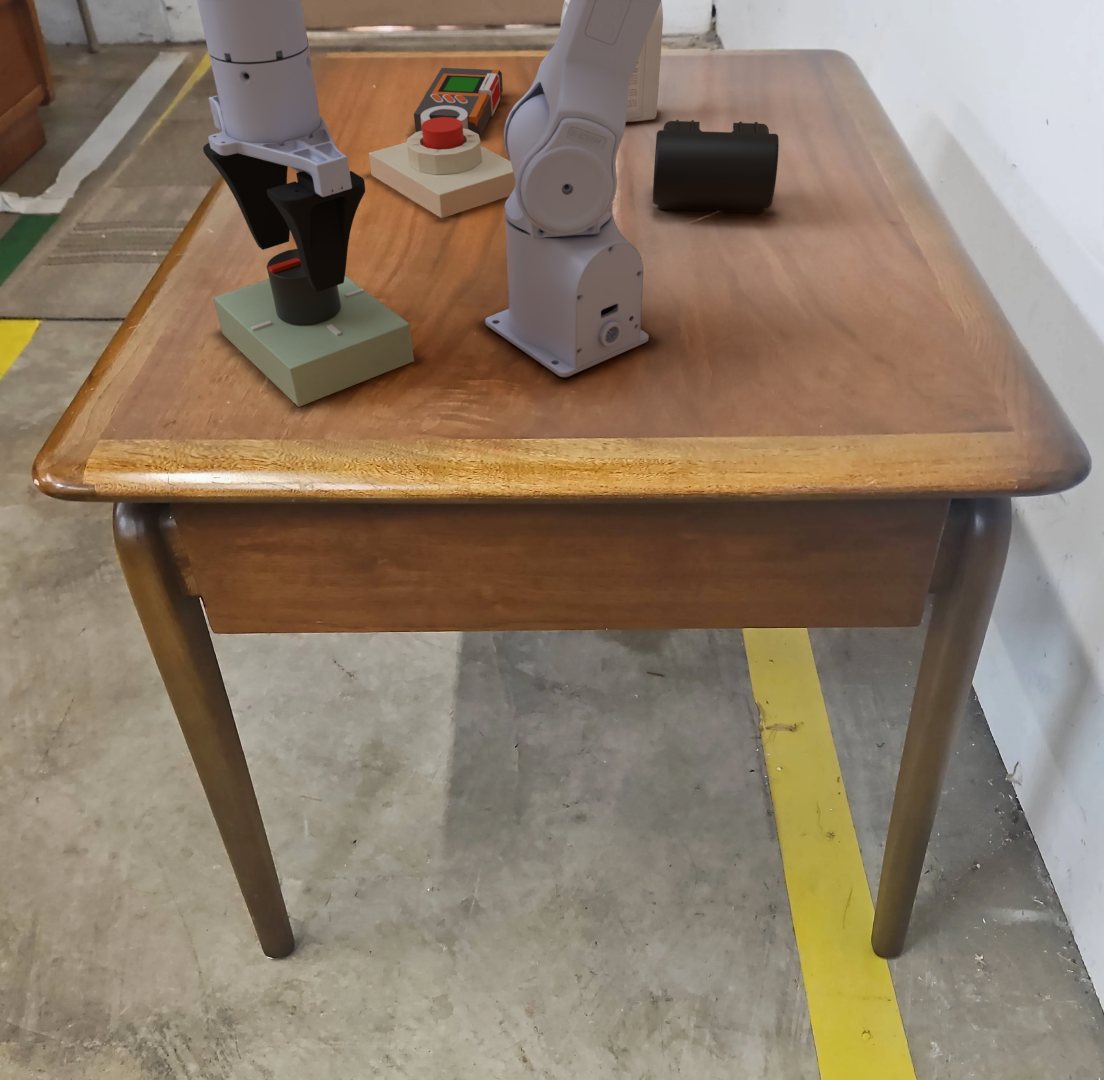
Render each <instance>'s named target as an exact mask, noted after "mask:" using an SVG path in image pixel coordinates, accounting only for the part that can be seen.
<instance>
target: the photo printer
mask: <svg viewBox="0 0 1104 1080" xmlns="http://www.w3.org/2000/svg"><path fill="white" fill-rule="evenodd" d="M569 2H570V0H564V1H563V4H562V9H561V15H560V16H561V17H560V27H561V26H562V23H563V20H564V17H565V14H566V11H567V8H568V5H569ZM663 25H664V9H663V1H662V0H661V2H660V5H659V7H658V10H657V12H656V15H655V18H654V20H653V23H652V25H651V28H650V30H649V33H648V36H647V38H646V41H645V43H644V46H643V48H642V51H641V54H640V56H639V59H638V61H637V64H636V66H635V69H634V72H633V74H632V77H631V79H630V82H629V88H628V98H627V111H626V123H629V122H632V123H633V122H641V121H642V122H643V121H650V120H651V121H652V120H655V119H656V118H657V113H658V101H659V100H658V99H659V87H660V86H659V85H660V69H661V59H662V58H661V56H662V40H663Z"/></svg>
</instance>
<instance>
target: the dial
mask: <svg viewBox="0 0 1104 1080" xmlns="http://www.w3.org/2000/svg"><path fill="white" fill-rule="evenodd" d="M266 270H267V274H268V279H269V280H270V284H271V289H272V294H273V298H274V303H275V308H276V312H277V316H278V317H279V318H280V319H281V320H282V321H284V322H286V323H289V324H294V325H313V324H318V323H321V322H324V321H327V320H329V319H331V318H333V317H334V316H335V315H337V313H338V312H339V311H340V308H341V303H340V297H339V291H338V285H336V286H334V287H331V288H328V289H325V290H322V291H319V292H317V291H315V290H314V289H313V288H312V287H311V285H310V283H309V281H308V279H307V277H306V274H305V271H304V268H303V265H302V262H301V259H300V256H299V252H298V249H297V248H292V249H289V250H288V249H287V250H285V251H283V252H280V253H278V254H276V255H274V256H273V257H271V258H270V259H269V260H268V262H267V263H266Z"/></svg>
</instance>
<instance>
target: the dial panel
mask: <svg viewBox="0 0 1104 1080" xmlns="http://www.w3.org/2000/svg"><path fill="white" fill-rule="evenodd" d="M338 291H339V297H340V303H341V308H340V311H339V312H338V313H337V315H335V316H334V317H333V318H331V319H329V320H327V321H324V322H321V323H318V324H313V325H294V324H289V323H286V322H284V321H282V320H281V319H280V318H279V317H278V316H277V312H276V308H275V303H274V298H273V294H272V289H271V284H270V280H269V278H267V279H265V280H261V281H257V282H255V283H253V284H249V285H246V286H243V287H240V288H237V289H234V290H231V291H228V292H225V293H222V294H219V295H216V296H213V297H212V298H213V300H212V301H213V304H214V307H215V311H216V315H217V319H218V323H219V327H220V330H221V334H222V335H223V336H224V337H225V338H226V339H227V340H228V341H229V342H230V343H231V344H232V345H233V346H234V347H235V348H236V349H237V350H238V351H239V352H241V353H242V355H244V357H246V358H247V359H248V360H249V361H250V362H251V363H252V364H253V365H254V366H255V367H256V368H257V369H258V370H259V371H260V372H261V373H262V374H263V375H264V376H265V377H267V378H268V380H270V382H272V383H273V384H274V385H275V386H276V387H277V388H278V389H279V390H280V391H281V392H282V393H283V394H284V395H285V396H286V397H288V399H289V400H290V401H292V403H294V404H295V405H296V406H297V407H303V406H305V405H307V404H310V403H312V402H315V401H318V400H320V399H322V398H326V397H327V396H330V395H333V394H336V393H339V392H341V391H343V390H345V389H349V388H350V387H353V386H355V385H358V384H360V383H363V382H366V381H368V380H371V379H373V378H375V377H378V376H381V375H384V374H386V373H388V372H391V371H394V370H396V369H398V368H401V367H403V366H406V365H408V364H411V363H414V362H415V356H414V349H413V339H412V329H411V324H410V323H409V322H408V321H406V320H405V319H404V318H403V317H401V316H400V315H399V314H397V313H396V312H395V311H393V310H392V309H391V308H390V307H388V306H387V305H386V304H384V303H383V302H382V301H380V300H379V299H378V298H376V297H375V296H373V295H372V294H371V293H369V292H368V291H367V290H366V289H364V288H363V287H361V286H360V285H359V284H357V282H355V281H353V280H352V279H351V278H350V277H348V276H347V275H345V278H344V283H342V284H339V285H338Z"/></svg>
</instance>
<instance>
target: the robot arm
mask: <svg viewBox="0 0 1104 1080" xmlns="http://www.w3.org/2000/svg"><path fill="white" fill-rule="evenodd" d="M661 1H662V0H570V2H569V5H568V8H567V11H566V14H565V17H564V20H563V23H562V26H561V25H560V29H559V32H558V35H557V38H556V41H555V42H554V45H553V46H552V47H551V49H550V50H549V51H548V52H547V54H545V56H544V57H543V59H542V60H541V62H540V64H539V67H538V70H537V73H536V74H535V78H534V81H533V82H532V84H531V86H530V88H529V89H528V90H527V91H526V93H525V94H524V95H523V96H521V98H520V99H519V100H517V102H516V103H515V104H514V105H513V107H512V108H511V110H510V112H509V113H508V115H507V117H506V121H505V123H504V129H503V143H504V149H505V152H506V154H507V158H508V160H509V161H511V164H512V168H513V173H514V177H515V181H516V183H515V188H514V190H513V192H512V193H511V195H510V196H508V197H507V199H506V201H505V203H504V227H505V228H504V229H505V251H506V268H507V269H506V271H507V272H506V273H507V274H506V275H507V295H508V296H507V298H508V308H507V309H505V310H502V311H499V312H497V313H494V314H492V315H490V316H487V317H486V318H484V319H485V320H484V321H485V326H486V327H488V328H489V329H491V330H492V331H494V332H495V333H497V334H498V335H500V336H501V337H502V338H503V339H505V340H507V341H508V342H509V343H511V344H512V345H514V346H515V347H517V348H518V349H520V350H521V351H522V352H524V353H525V354H527V355H528V356H529V357H531V358H532V359H534V360H535V361H536V362H538V363H540V364H541V365H542V366H544V367H545V368H547V369H548V370H549V371H551V372H552V373H554V374H555V375H557V376H558V377H561V378H568V377H571V376H574V375H575V374H578V373H580V372H582V371H584V370H587V369H589V368H591V367H593V366H595V365H598V364H600V363H602V362H604V361H607V360H609V359H612V358H614V357H616V356H618V355H620V354H623V353H625V352H627V351H630V350H632V349H634V348H637V347H639V346H641V345H643V344H646V343H647V342H649V337H650V336H649V333H647V332H646V331H644V330H642V329H641V328H642V327H641V323H642V304H643V303H642V302H643V287H644V261H643V259H642V256H641V254H640V252H639V250H638V249H637V247H635V245H634V244H632V243H631V242H630V241H629V240H628V239H626V237H624V235H623V234H622V233H621V231H620V229H619V228H618V226H617V224H616V220H615V218H614V214H613V206H614V205H613V204H614V200H615V198H616V193H617V190H618V189H617V187H618V176H617V166H616V163H617V154H618V152H619V149H620V146H621V142H622V140H623V138H624V135H625V131H626V123H627V122H626V111H627V98H628V88H629V82H630V79H631V77H632V74H633V72H634V69H635V66H636V64H637V61H638V59H639V56H640V54H641V51H642V48H643V46H644V43H645V41H646V38H647V36H648V33H649V30H650V28H651V25H652V23H653V20H654V18H655V15H656V12H657V10H658V7H659V5H660V2H661ZM196 3H197V7H198V11H199V16H200V20H201V25H202V29H203V34H204V38H205V43H206V48H207V51H208V55H209V61H210V64H211V69H212V75H213V79H214V83H215V88H216V92H217V95H214V96H210V97H208V102H209V106H210V110H211V115H212V118H213V123H214V127H215V128H216V129H218V130H219V131H220V132H217V133H213V134H210V135H209V136H208V137H207V139H208V143H206V144H205V145H204V146H203V147H202V151H203V153H204V155H205V157H206V158H207V159H208V160H209V161H210V162H211V164H212V165H213V166H214V167H215V169H216V170H217V171H218V173H219V174H220V176H221V177H222V178H223V180H224V182H225V183H226V184H227V186H228V188H229V190H230V191H231V193H232V195H233V197H234V199H235V201H236V204H237V206H238V207H239V209H240V211H241V214H242V216H243V218H244V220H245V223H246V225H247V227H248V229H249V231H250V234H251V235H252V238H253V240H254V241H255V243H256V245H257V247H258V248H260V249H261V250H262V251H264V250H267V249H271V248H273V247H276V246H279V245H282V244H286V243H289V242H290V236H291V235H292V238H293V241H294V244H295V246H296V249H298V252H299V256H300V259H301V262H302V265H303V268H304V271H305V274H306V277H307V279H308V281H309V283H310V285H311V287H312V288H313V289H314V290H315V291H317V292H319V291H322V290H325V289H328V288H331V287H334V286H336V285H339V284H342V283H344V278H345V276H346V269H347V261H348V249H349V243H350V242H349V241H350V235H351V230H352V227H353V222H354V220H355V216H356V213H357V210H358V208H359V205H360V203H361V201H362V199H363V198H364V195H365V194H366V183H365V179H364V178H363V177H362V176H360V175H359V174H357V173H355V172H354V171H352V170H350V164H349V159H348V156H347V155H346V154H344V153H343V152H341V151H340V150H339V148H338V147H337V145H336V143H335V141H334V139H333V136H332V134H331V132H330V130H329V128H328V126H327V123H326V121H325V120H324V118H323V116H321V114H320V113H321V112H320V107H319V101H318V100H319V99H318V95H317V89H316V82H315V76H314V69H313V62H312V58H311V51H310V46H309V39H308V33H307V27H306V21H305V15H304V7H303V2H302V0H196ZM288 168H291V169H292V170H294V171H295V172H296V173H295V174H296V181H292V182H288ZM290 234H291V235H290Z"/></svg>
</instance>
